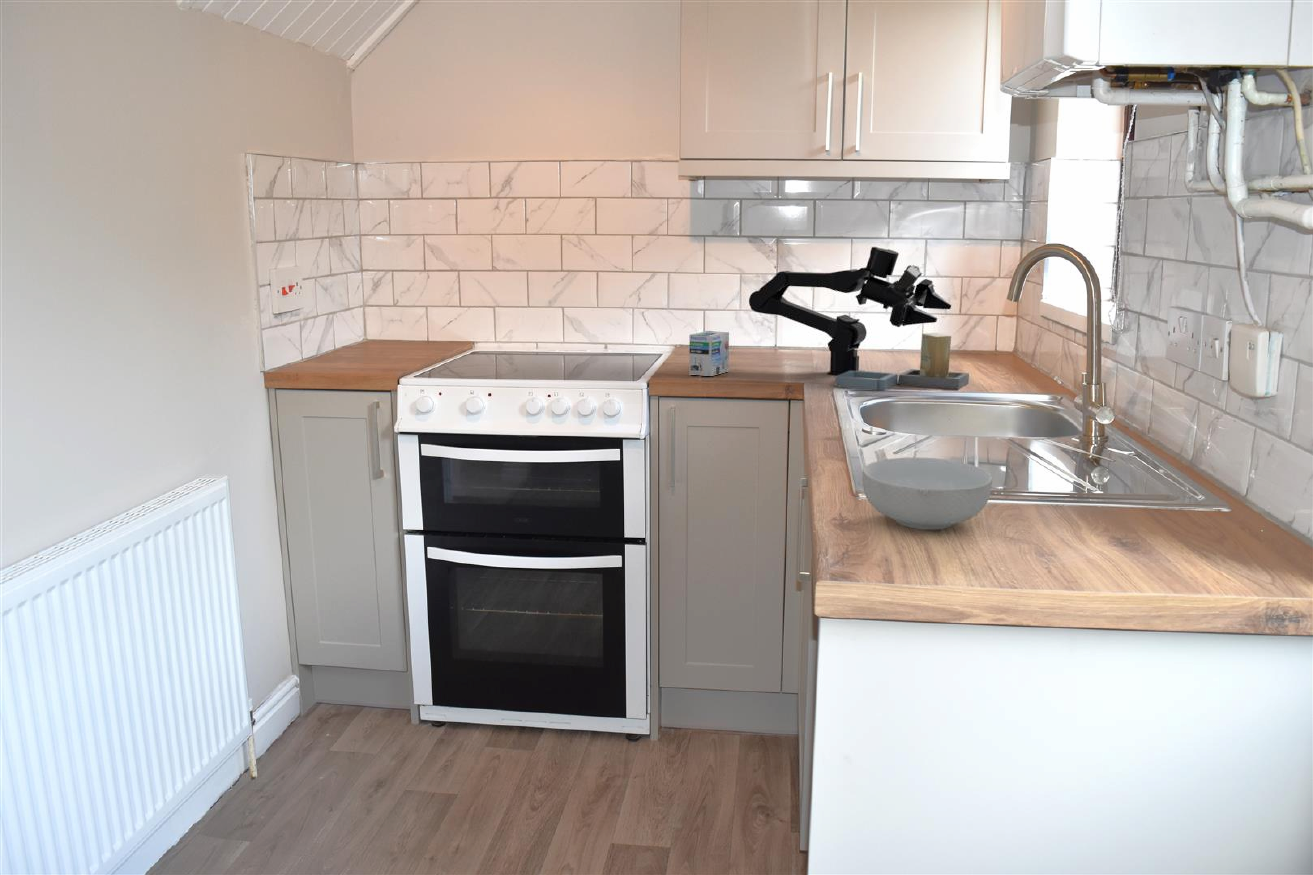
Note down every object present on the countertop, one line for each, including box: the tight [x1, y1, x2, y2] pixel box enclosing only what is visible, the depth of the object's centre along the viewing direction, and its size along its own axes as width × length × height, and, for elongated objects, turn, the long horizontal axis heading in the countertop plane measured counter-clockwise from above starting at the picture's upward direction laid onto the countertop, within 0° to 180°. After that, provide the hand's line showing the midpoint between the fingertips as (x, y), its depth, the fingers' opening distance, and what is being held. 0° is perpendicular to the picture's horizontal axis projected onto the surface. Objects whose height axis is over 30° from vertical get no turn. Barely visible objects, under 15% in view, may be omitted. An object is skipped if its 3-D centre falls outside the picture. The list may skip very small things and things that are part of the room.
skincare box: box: [919, 332, 952, 377], centre depth 252 cm, size 6×4×12 cm
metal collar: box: [897, 368, 970, 391], centre depth 253 cm, size 14×10×2 cm
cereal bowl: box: [862, 457, 993, 531], centre depth 141 cm, size 17×17×7 cm
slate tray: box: [834, 370, 899, 391], centre depth 252 cm, size 12×12×2 cm
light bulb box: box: [689, 330, 730, 376], centre depth 270 cm, size 11×7×11 cm, turn 151°
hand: (943, 313), depth 254 cm, fingers open, 9 cm apart
